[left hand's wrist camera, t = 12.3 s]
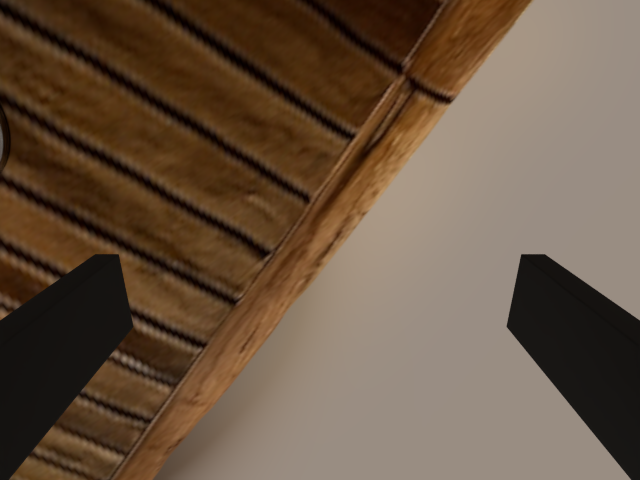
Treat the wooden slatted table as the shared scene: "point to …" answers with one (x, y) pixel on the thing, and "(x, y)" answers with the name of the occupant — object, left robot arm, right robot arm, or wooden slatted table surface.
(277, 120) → the wooden slatted table surface
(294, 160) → the wooden slatted table surface
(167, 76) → the wooden slatted table surface
